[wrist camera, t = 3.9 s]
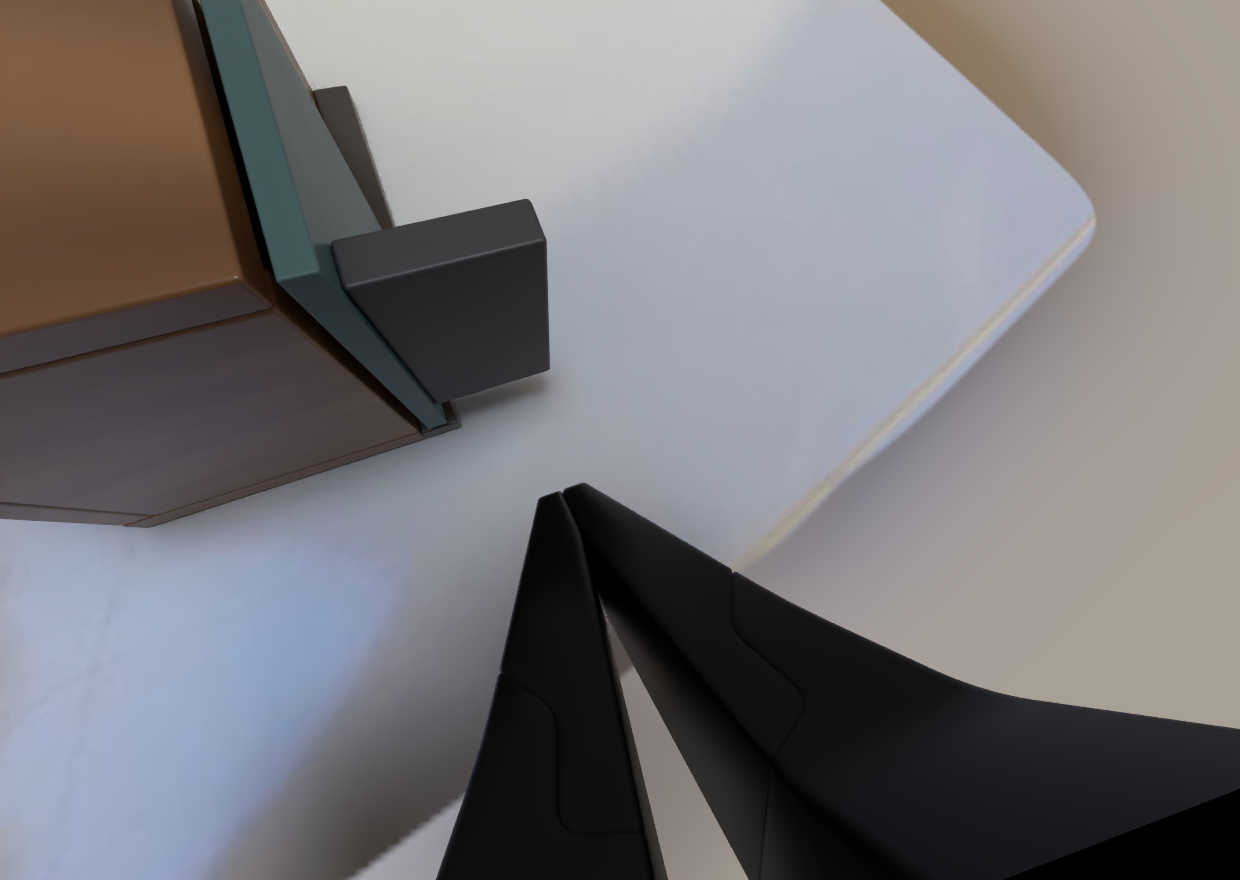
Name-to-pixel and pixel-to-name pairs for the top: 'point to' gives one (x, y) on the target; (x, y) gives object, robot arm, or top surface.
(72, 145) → the cupboard
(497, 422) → the top surface
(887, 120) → the top surface
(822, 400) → the top surface
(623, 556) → the robot arm
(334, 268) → the sliding door
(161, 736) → the top surface
